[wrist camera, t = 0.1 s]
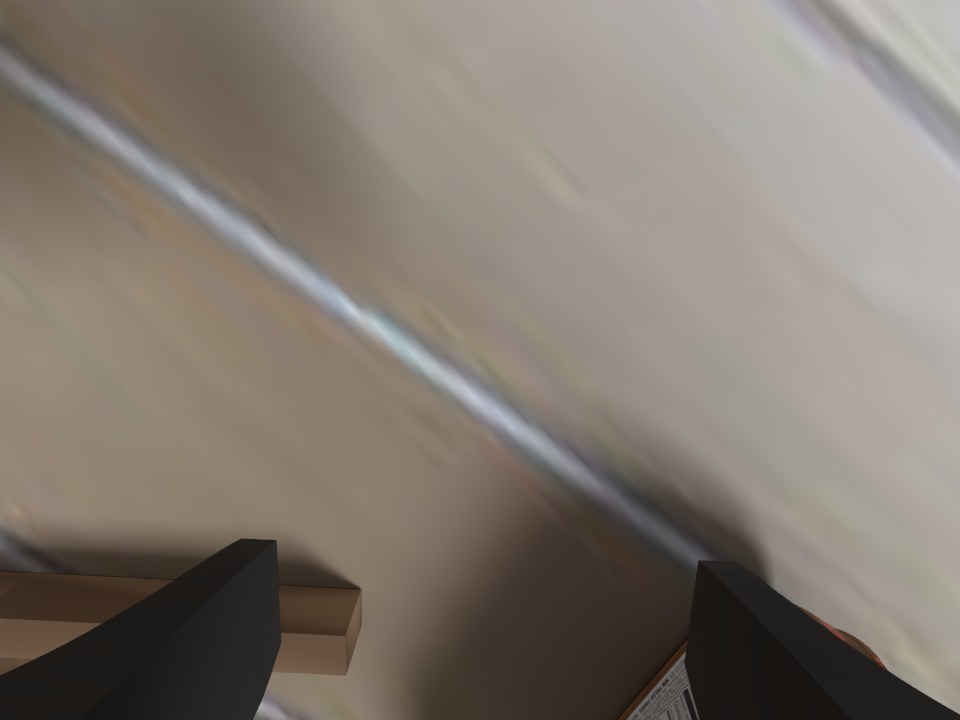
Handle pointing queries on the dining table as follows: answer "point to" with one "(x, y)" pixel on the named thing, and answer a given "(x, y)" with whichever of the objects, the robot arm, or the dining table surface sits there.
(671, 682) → the tin
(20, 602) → the dock
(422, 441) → the dining table surface
